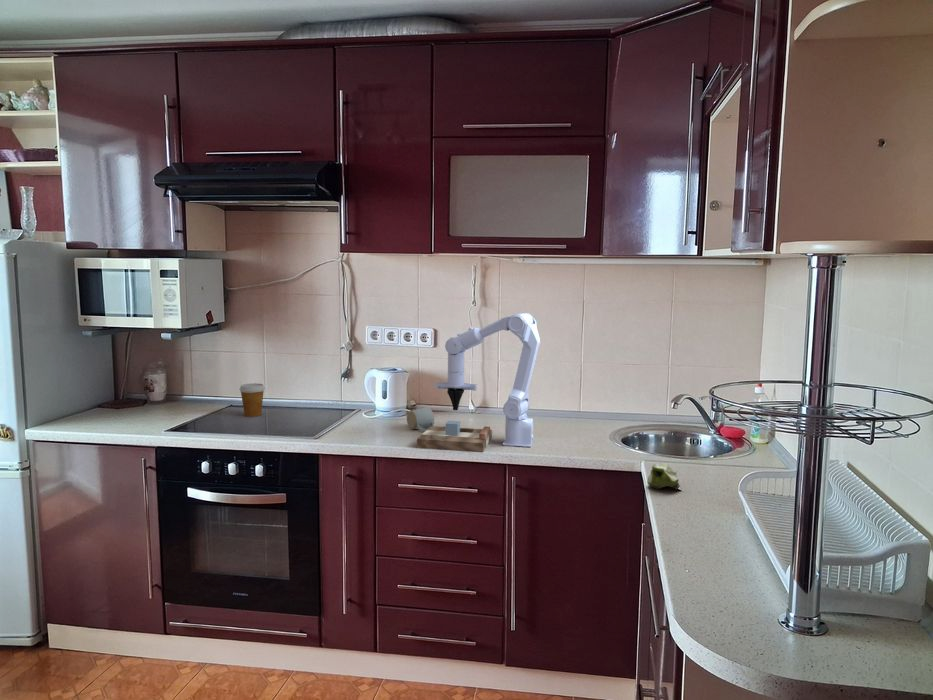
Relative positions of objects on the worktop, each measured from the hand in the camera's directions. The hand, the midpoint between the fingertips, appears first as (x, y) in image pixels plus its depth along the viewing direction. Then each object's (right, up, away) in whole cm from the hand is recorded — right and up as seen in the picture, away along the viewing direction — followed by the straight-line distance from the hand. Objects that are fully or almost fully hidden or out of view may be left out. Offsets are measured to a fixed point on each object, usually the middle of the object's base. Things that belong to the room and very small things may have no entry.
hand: (455, 409), depth 231 cm
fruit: (+57, -17, -51) cm, 79 cm away
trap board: (0, -11, -8) cm, 13 cm away
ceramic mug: (-12, -8, +10) cm, 18 cm away
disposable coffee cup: (-81, -5, +30) cm, 87 cm away
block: (-1, -8, -8) cm, 11 cm away
